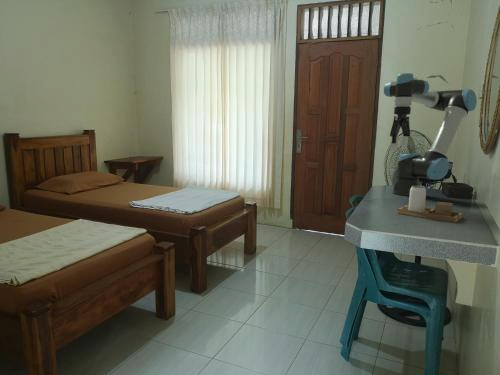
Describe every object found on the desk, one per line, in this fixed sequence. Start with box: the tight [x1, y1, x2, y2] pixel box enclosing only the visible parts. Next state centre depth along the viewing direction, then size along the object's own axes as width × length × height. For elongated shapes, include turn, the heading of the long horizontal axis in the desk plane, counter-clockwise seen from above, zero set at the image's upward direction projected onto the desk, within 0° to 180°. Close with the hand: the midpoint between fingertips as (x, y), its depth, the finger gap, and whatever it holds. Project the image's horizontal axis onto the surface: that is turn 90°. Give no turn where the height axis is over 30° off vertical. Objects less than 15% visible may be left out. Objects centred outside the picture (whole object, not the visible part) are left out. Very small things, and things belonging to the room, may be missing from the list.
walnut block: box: [434, 201, 454, 217], centre depth 162 cm, size 6×6×6 cm
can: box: [408, 185, 427, 212], centre depth 169 cm, size 6×6×12 cm
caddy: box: [397, 204, 464, 224], centre depth 166 cm, size 12×23×3 cm, turn 48°
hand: (399, 149), depth 193 cm, fingers open, 13 cm apart
